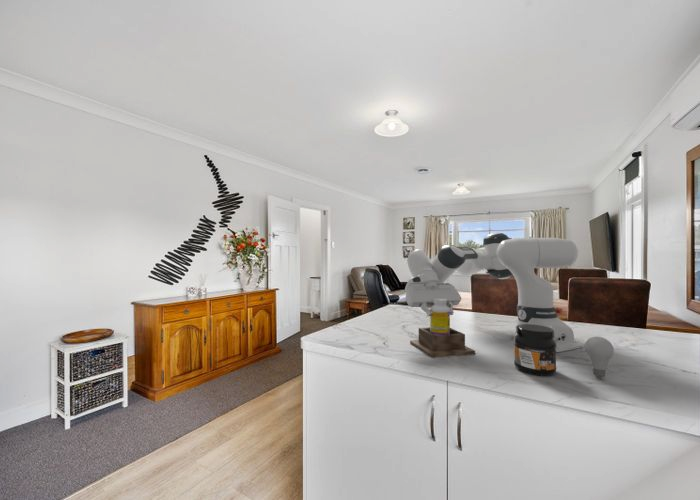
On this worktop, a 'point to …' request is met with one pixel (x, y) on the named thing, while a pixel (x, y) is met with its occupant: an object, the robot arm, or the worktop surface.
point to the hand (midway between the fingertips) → (440, 314)
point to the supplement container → (535, 349)
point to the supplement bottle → (440, 317)
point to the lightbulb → (599, 354)
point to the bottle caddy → (441, 343)
